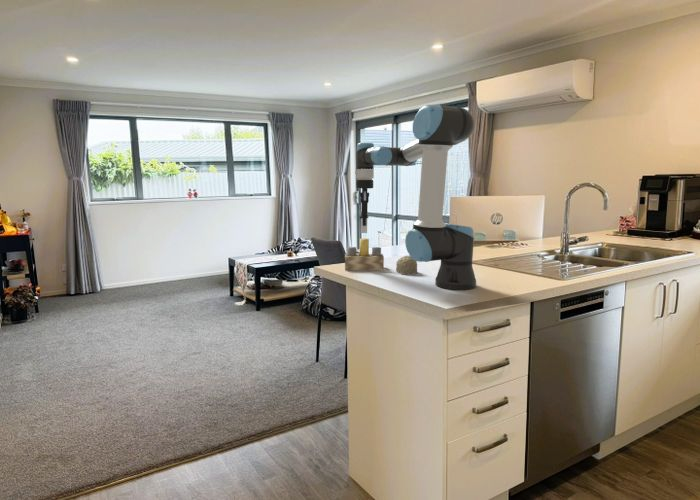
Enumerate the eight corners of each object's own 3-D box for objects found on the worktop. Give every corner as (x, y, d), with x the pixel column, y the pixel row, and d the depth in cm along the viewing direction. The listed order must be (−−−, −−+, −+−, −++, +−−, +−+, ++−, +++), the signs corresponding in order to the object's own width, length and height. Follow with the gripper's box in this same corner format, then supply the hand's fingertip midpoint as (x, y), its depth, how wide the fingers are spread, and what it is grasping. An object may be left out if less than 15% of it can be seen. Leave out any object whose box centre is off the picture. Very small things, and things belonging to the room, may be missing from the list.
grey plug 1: (357, 267, 209) (357, 247, 208) (349, 268, 207) (349, 248, 206) (353, 266, 213) (353, 246, 211) (345, 266, 211) (345, 247, 210)
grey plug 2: (382, 267, 209) (382, 248, 208) (374, 268, 207) (374, 248, 206) (377, 266, 213) (378, 246, 211) (370, 267, 211) (370, 247, 209)
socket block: (382, 266, 214) (382, 253, 213) (383, 270, 206) (383, 256, 205) (345, 266, 214) (345, 253, 213) (344, 270, 206) (345, 256, 205)
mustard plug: (370, 259, 209) (370, 239, 207) (362, 259, 207) (362, 239, 205) (365, 257, 212) (366, 238, 211) (358, 258, 210) (358, 238, 209)
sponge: (403, 283, 198) (416, 266, 193) (388, 268, 202) (399, 251, 197) (414, 280, 205) (426, 263, 201) (399, 265, 209) (411, 248, 204)
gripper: (356, 178, 210) (355, 231, 214) (356, 179, 198) (355, 234, 201) (372, 179, 210) (371, 231, 214) (374, 179, 198) (373, 234, 201)
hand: (364, 232), depth 208 cm, fingers closed
